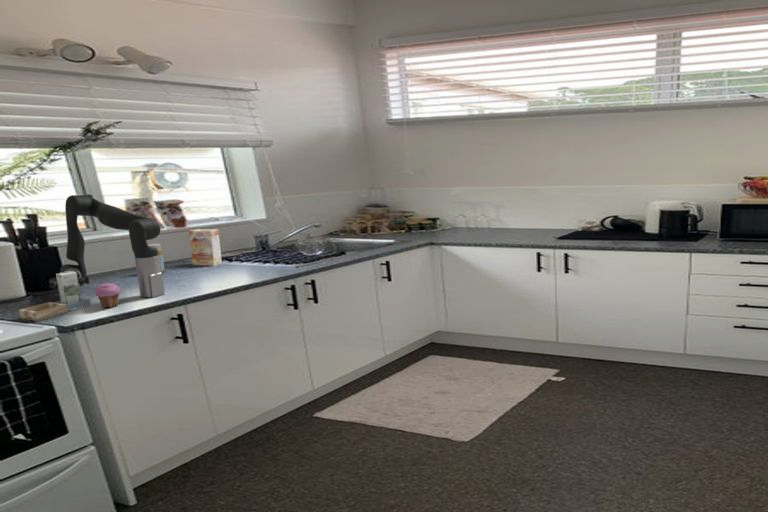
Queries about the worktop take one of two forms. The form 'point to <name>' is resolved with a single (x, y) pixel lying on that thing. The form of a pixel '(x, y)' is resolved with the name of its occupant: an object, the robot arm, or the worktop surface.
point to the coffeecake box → (205, 247)
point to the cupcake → (108, 294)
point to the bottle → (159, 255)
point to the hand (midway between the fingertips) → (68, 285)
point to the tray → (42, 311)
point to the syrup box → (68, 287)
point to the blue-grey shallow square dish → (77, 303)
